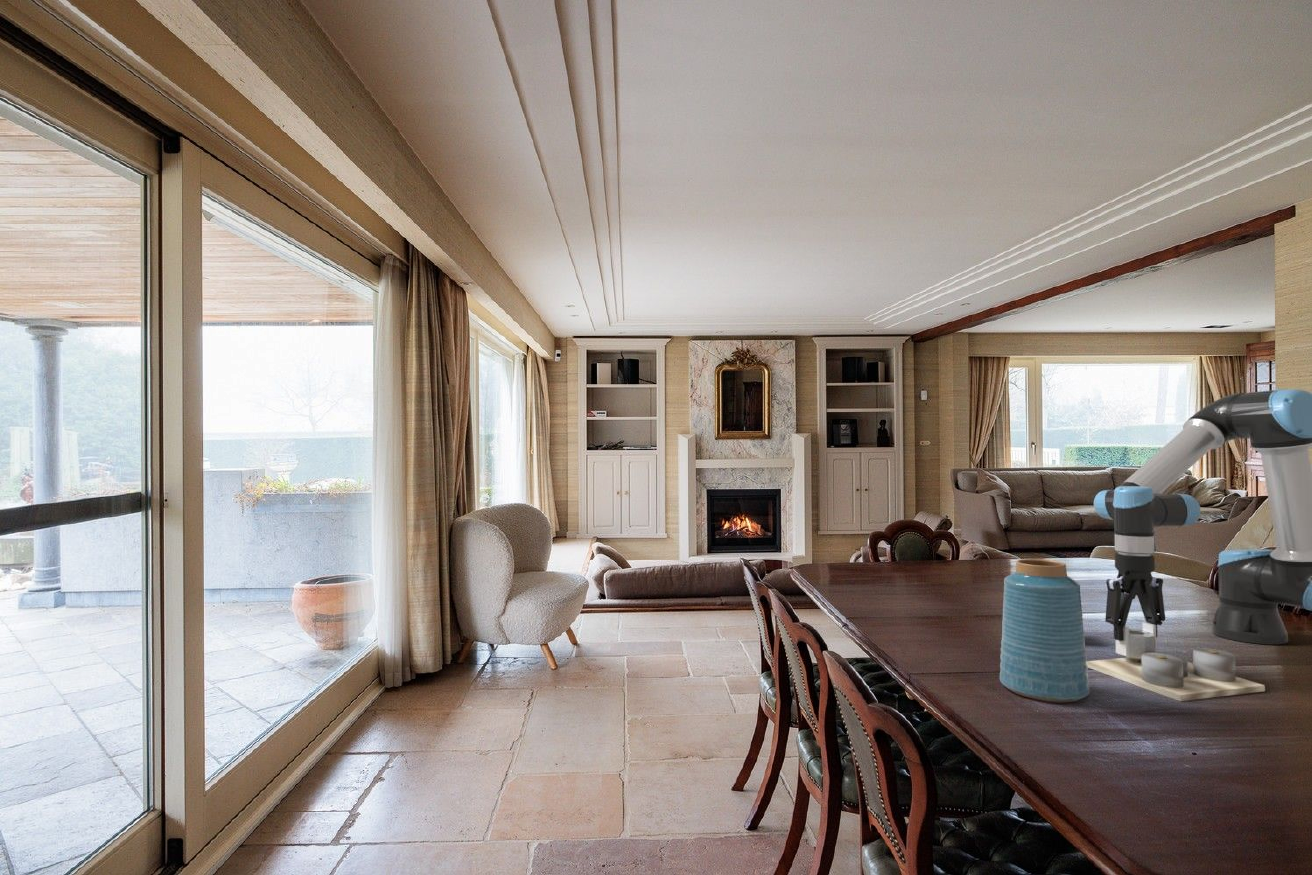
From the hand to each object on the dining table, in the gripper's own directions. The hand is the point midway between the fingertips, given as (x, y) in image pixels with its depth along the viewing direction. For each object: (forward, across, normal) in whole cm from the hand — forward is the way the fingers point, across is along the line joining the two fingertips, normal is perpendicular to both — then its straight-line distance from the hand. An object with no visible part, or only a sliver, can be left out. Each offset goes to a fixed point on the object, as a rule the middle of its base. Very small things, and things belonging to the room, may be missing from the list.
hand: (1136, 653), depth 155 cm
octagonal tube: (0, 0, 0) cm, 0 cm away
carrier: (+3, 0, +8) cm, 9 cm away
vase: (+4, +32, +7) cm, 33 cm away
